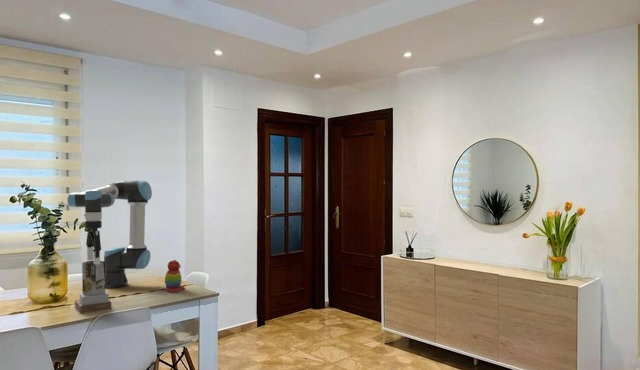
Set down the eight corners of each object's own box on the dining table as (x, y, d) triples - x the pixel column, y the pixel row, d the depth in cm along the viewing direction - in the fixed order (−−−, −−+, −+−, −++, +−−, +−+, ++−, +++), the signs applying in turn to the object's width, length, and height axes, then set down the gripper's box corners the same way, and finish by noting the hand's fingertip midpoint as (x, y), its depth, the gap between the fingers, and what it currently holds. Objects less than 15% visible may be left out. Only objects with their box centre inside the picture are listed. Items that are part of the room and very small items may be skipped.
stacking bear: (176, 293, 258) (177, 262, 258) (160, 292, 260) (161, 261, 260) (186, 288, 268) (186, 259, 268) (170, 287, 270) (170, 258, 270)
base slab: (74, 308, 228) (74, 300, 228) (104, 303, 237) (104, 296, 237) (80, 314, 217) (80, 306, 217) (111, 309, 226) (111, 301, 226)
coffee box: (105, 292, 229) (105, 261, 229) (95, 295, 223) (95, 263, 223) (92, 290, 232) (92, 260, 232) (81, 293, 226) (81, 262, 226)
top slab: (79, 299, 229) (79, 292, 229) (105, 296, 236) (105, 289, 236) (81, 305, 219) (81, 297, 219) (108, 302, 226) (108, 294, 226)
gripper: (79, 218, 234) (79, 259, 234) (91, 222, 215) (91, 266, 215) (95, 218, 239) (95, 257, 239) (107, 222, 220) (107, 264, 220)
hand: (93, 262), depth 227 cm, fingers open, 13 cm apart
